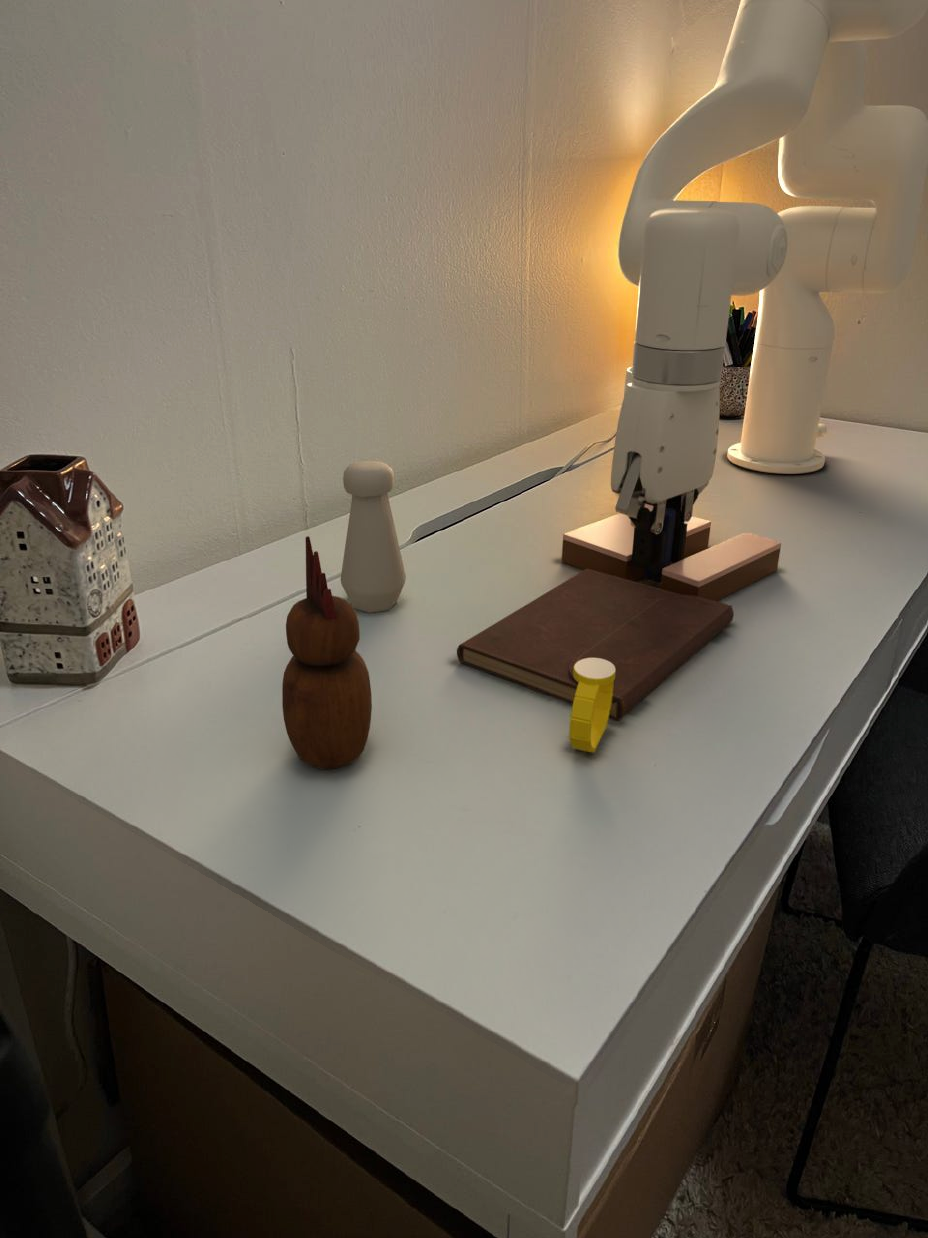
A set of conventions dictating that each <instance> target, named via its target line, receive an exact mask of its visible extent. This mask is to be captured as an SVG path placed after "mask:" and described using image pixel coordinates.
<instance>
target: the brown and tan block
mask: <svg viewBox="0 0 928 1238" xmlns="http://www.w3.org/2000/svg"><path fill="white" fill-rule="evenodd" d="M645 507H646V508H648V509H649V510H650V512H651V511H652V510H653V506H651V505H648V504H645ZM685 523H686V524H688V525H687V534H686V542H685V551H684V559H686V558H688V557H690V556H692V555H695V554H697V553H699V552H701V551H704V550H706V549H708V548H709V542H710V535H711V526H712V521H711V520H707V519H703V518H701V517H697V516H693V515H692V518H691V520H690V521H689V522H685ZM633 538H634V527H632V526H631V520H630V518H629V517H628V516H626V515H623V514H621V513H617V514H615V515H612V516H609V517H606V518H603V519H601V520H598V521H595V522H592V523H590V524H589V523H588V524H586V525H584V526H580V527H579V528H576V529H573V530H570V531H567V532H565V533H562V547H561V548H562V549H561V562H562V563H564V564H567V565H570V566H573V567H575V568H577V569H581V570H582V571H583V570H585V569H591V570H595V571H598V572H602V573H605V574H609V575H613V576H616V577H620V578H624V579H627V580H631V581H634V582H636V581H637V580H639V579H642V578H644V575H643V571H644V569H642V568H639V567H636V566H634V565H633V564H632V562H631V560H632V549H633ZM672 564H674V563H672V562H670V565H672Z"/></svg>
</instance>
